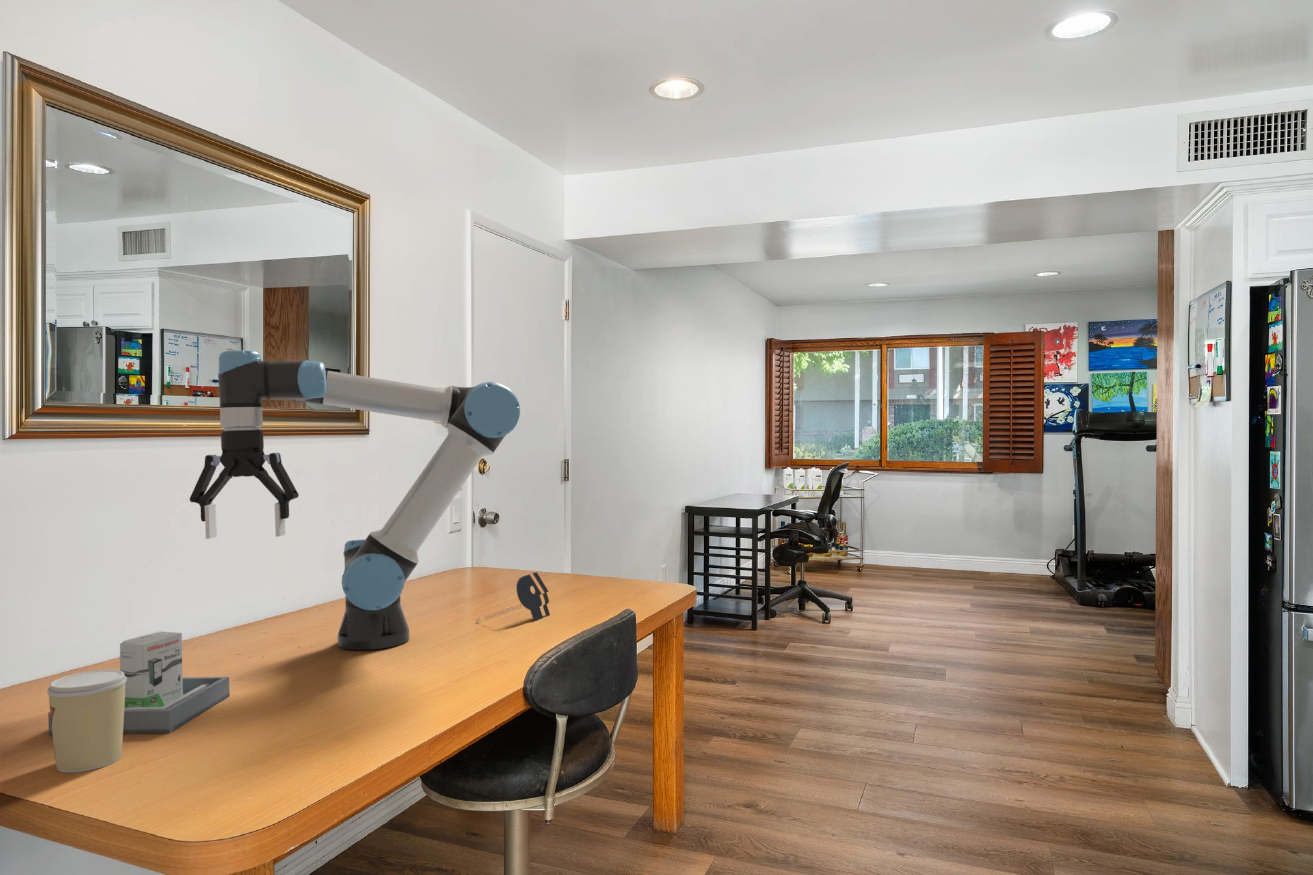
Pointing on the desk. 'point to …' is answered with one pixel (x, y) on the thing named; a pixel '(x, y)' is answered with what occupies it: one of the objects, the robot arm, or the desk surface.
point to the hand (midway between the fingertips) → (246, 536)
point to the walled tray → (175, 707)
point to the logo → (530, 596)
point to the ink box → (152, 669)
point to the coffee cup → (87, 719)
